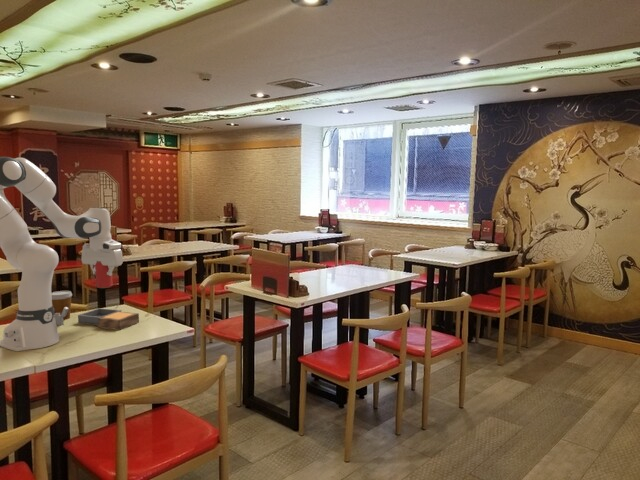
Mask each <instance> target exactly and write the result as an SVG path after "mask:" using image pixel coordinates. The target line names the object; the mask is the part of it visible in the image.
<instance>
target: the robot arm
mask: <svg viewBox="0 0 640 480" xmlns="http://www.w3.org/2000/svg"><path fill="white" fill-rule="evenodd" d="M10 187H11V188H12V187H15V188H16V189H17V190H18V191H19V192H20V193H21V194H23V195H24V196H25V197H26V198H27V199H28V200H30V202H31V203H33V205H34V206H35V207H36V208H37V209H38V210H39V211H40V212H41V213H42V214H43V215H44V216H45V217H46V218H47V219H48V220H49V221H50V222H51V224H52V225H53V227H54V230H55V232H56V233H57V234H58V236H59V237H61V238H63V239H82V240H83V239H84V240H85V239H89V243H88V242H87V243H84V244H83V245H82V250H81V263H82V264H83V265H89V267H90V269H91V271H92V275H93V276H94V275H95V276H96V272H95V264H96V261H101V263H102V265H106V266H108V268H109V271H108V272H107V276H111V275H112V276H113V271H114V270H115V267H119V266H120V267H121V266H122V264H123V262H124V260H123V258H124V257H123V251H122V249H121V248H122V243H121V242H119V241H117V240H114V239H112V233H111V227H112V224H111V223H112V221H111V214H110V211H109V210H108V209H107V208H104V207H96V206H91V207H89V209H88V210H87V211H85V212H84V213H82V214H79V215H72V214H68V213H66V212H64V211H63V210H62V209H61V208H60V206H59V205H58V204H57V203H56V202H55V201H54V200H53V198H54V197H55V196H56V194H57V186H56V184H55V182H53V181H52V179H51V177H49V176H48V174H46V173H45V172H44V171H43V170H42V169H41V168H39V166H37V165H35V164H34V163H33V162H32V161H30V160H29V159H27V158H25V157H16V158H15V157H10V156H0V249H1V251H2V252H3V254H4V256H5V258H6V261H7V263H8V264H9V265H10V266H12V268H14V269H17V270H18V271H21V280H20V284H19V286H18V287H17V291H16V292H17V301H18V309H16V310H14V312H13V314H14V315H15V314H16V315H15V319H14V320H12V322H10V323H9V324H8V325H6V327H4V330H3V335H2V337H3V338H1V339H0V347H1V348H5V349H8V350H11V351H15V352H22V351H28V350H36V349H42V348H46V347H49V346H52V345H56V344H57V343H59V342H60V333H58V327H57V326H58V325H56V321H55V318H54V317H53V315H54V306H53V305H52V283H53V276H54V273H55V269H56V268H57V267H58V265H59V262H60V258H59V255H58V252H57V251H56V250H54V249H53V248H52V247H50V246H49V245H48V244H47V245H46V244H41V243H37V242H36V241H35V240H34V239H33V238H32V236H31V233H30V232H29V230H28V225H27V223H26V222H25V220H24V219H23V217H22V216H21V215H20V213H19V212H18V211H17V210H16V208H15V207H14V206H13V205H12V204H11V202H10V201H9V200H8V198H7V197H6V195H5V192H4V191H5V190H4V189H6V188H10Z"/></svg>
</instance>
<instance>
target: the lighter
mask: <svg viewBox="0 0 640 480" xmlns="http://www.w3.org/2000/svg"><path fill="white" fill-rule="evenodd" d="M68 310H69V308H67V307H65V308H64V309H63V311H62V314H61V315H60V313H55V315H53V317H54V318H55V321H56V326H59V327H60V326H64V320H63V317H65V316H66V315H67V312H68Z"/></svg>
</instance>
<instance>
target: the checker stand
mask: <svg viewBox="0 0 640 480" xmlns="http://www.w3.org/2000/svg"><path fill="white" fill-rule="evenodd" d="M117 312H118V311H117ZM117 312H114V313H117ZM114 313H111V314H114ZM121 313H129V312H126V311H121ZM130 313H131V314H134V315H131V316H128V317H126V318H123V319H120V320H118V319H108V318H103V317H105V316H103V317H100V318H98V325H97V326H98V328H101V329H102V328H103V329H110V330H112V329H113V330H118V331H121V330H123V329H125V328H128V327H131V326H133V325H136V324H138V323H140V315H139V313H138V312H130ZM111 314H109V315H111ZM106 316H108V315H106Z"/></svg>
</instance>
